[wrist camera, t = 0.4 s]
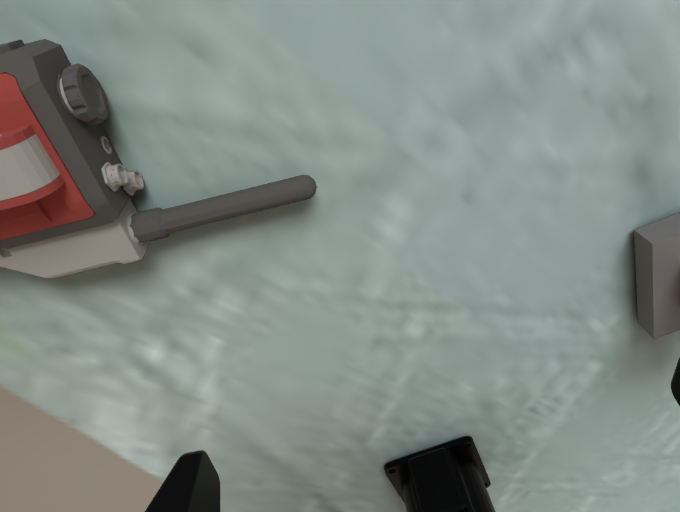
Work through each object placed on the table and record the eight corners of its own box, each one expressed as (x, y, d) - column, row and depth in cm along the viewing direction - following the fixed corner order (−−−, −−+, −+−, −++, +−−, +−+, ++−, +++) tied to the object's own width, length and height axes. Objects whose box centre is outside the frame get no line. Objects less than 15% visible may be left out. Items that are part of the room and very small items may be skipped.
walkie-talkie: (-92, 295, 22) (319, 193, 21) (-167, 364, 18) (328, 243, 18) (-266, 113, 17) (261, -25, 16) (-417, 158, 13) (256, -19, 13)
